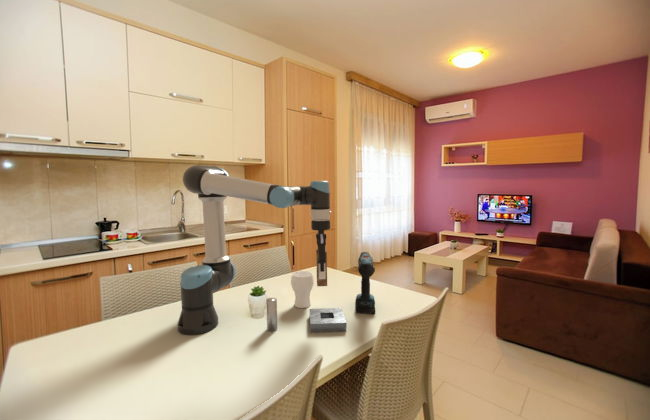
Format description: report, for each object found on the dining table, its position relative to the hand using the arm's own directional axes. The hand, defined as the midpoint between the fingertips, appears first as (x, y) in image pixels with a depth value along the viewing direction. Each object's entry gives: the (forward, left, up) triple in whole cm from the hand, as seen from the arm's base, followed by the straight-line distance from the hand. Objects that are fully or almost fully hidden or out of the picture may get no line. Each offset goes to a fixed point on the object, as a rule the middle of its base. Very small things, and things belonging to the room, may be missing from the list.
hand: (321, 277), depth 120 cm
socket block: (+2, 0, -20) cm, 20 cm away
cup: (-8, +20, -20) cm, 29 cm away
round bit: (-20, -3, -20) cm, 28 cm away
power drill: (+21, +15, -20) cm, 33 cm away
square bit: (0, 0, -3) cm, 3 cm away
